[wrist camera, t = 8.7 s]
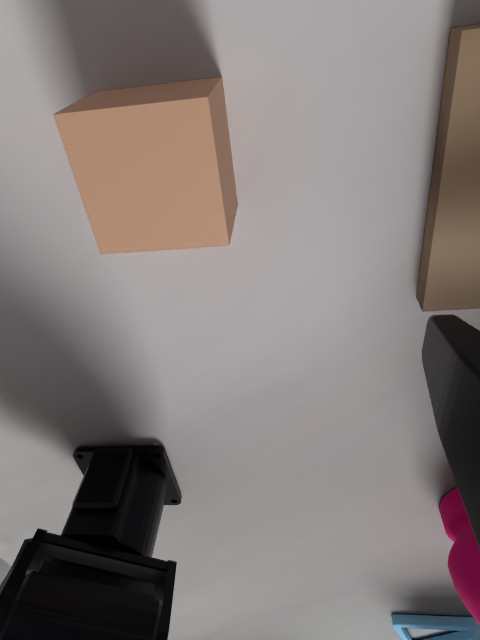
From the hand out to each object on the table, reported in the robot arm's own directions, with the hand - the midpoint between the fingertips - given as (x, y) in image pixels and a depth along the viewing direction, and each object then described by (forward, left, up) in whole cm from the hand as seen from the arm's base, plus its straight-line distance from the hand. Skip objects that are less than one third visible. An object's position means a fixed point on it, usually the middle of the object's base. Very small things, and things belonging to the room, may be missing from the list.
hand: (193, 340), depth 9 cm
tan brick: (+1, +3, -12) cm, 12 cm away
